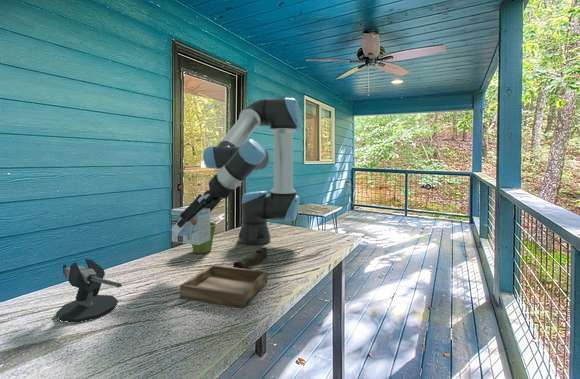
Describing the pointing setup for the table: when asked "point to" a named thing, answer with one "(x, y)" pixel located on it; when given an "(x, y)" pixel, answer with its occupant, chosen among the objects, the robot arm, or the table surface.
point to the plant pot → (207, 245)
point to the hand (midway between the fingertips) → (181, 229)
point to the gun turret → (87, 293)
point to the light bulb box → (192, 227)
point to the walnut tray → (224, 286)
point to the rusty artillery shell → (252, 259)
